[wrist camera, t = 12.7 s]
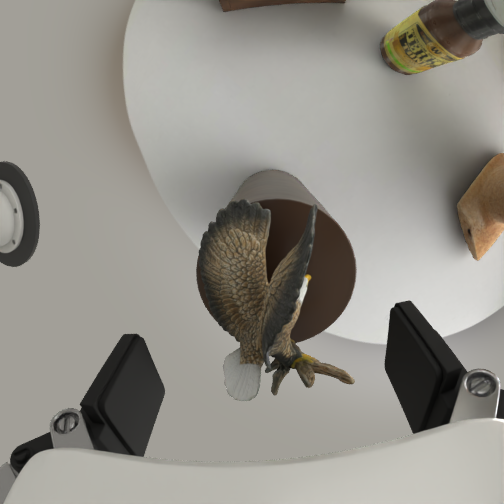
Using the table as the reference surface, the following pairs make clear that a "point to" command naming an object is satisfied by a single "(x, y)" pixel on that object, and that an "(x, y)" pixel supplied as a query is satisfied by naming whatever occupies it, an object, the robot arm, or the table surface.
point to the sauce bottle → (441, 34)
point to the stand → (288, 236)
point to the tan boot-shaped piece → (484, 208)
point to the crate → (265, 3)
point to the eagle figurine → (258, 298)
